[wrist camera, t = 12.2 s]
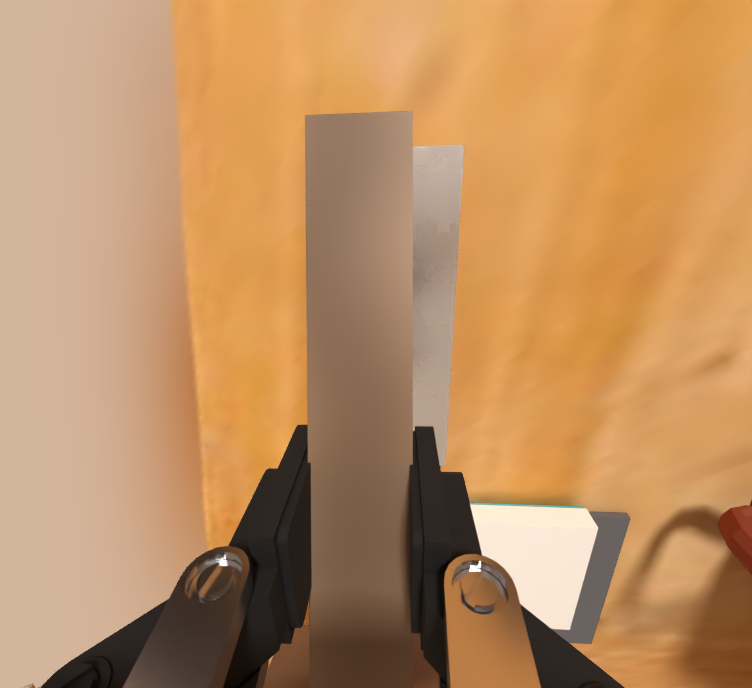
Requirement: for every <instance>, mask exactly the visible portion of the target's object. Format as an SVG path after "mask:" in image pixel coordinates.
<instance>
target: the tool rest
mask: <svg viewBox="0 0 752 688" xmlns="http://www.w3.org/2000/svg"><path fill="white" fill-rule="evenodd" d="M463 158H464V145H440V146H413V431H415V426H433V428H434V433H435V439H436V446H437V452H438V458H439V464H440V466H445V465H446V448H447V431H448V414H449V397H450V380H451V363H452V346H453V329H454V312H455V295H456V278H457V261H458V244H459V226H460V209H461V192H462V175H463Z"/></svg>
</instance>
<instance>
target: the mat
mask: <svg viewBox="0 0 752 688" xmlns="http://www.w3.org/2000/svg"><path fill="white" fill-rule="evenodd" d="M589 514H590V515H591V517H592V518H593V520H594V522H595V523H596V525H597V527H598V531H597V535H596V538H595V542H594V545H593V549H592V552H591V556H590V559H589V563H588V567H587V570H586V574H585V577H584V581H583V584H582V588H581V591H580V595H579V599H578V602H577V606H576V609H575V613H574V616H573V620H572V623H571V627H570V630H562V629H552V630H553V631H555V632H556V633H557V634H558V635H560V636H561V637H562V638H563V639H565V640H566V641H567V642H568V643H583V644H591V643H592V640H593V637H594V634H595V630H596V627H597V624H598V621H599V618H600V614H601V611H602V608H603V605H604V602H605V598H606V595H607V592H608V589H609V586H610V582H611V579H612V576H613V573H614V570H615V566H616V563H617V560H618V557H619V554H620V550H621V547H622V544H623V541H624V538H625V534H626V531H627V528H628V525H629V521H630V517H629V516H628V514H627V513H613V512H589Z"/></svg>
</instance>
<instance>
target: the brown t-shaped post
mask: <svg viewBox="0 0 752 688" xmlns="http://www.w3.org/2000/svg"><path fill="white" fill-rule="evenodd" d="M305 159H306V286H307V412H308V463H311V564H312V587H311V592H310V596H309V626H304V625H303V626H302V628H295V630H294V635H293V639H292V643H291V644H281V646H280V650H279V651H278V652H277V653H275V654H274V656H273V658H272V661H271V664H270V666H269V669H268V671H267V674H266V678H265V682H264V686H263V688H438V673H437V672H436V671H435V670H434V669H433V667H432V666H431V665H430V664H429V663H428V662H427V661H426V659H425V658H424V657H423V650H421V642H420V634H418V633H411V608H410V465H413V111H398V112H373V113H347V114H322V115H305Z"/></svg>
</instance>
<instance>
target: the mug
mask: <svg viewBox="0 0 752 688" xmlns="http://www.w3.org/2000/svg"><path fill="white" fill-rule="evenodd" d="M718 527H719V529H720V531H721V533H722V535H723V537H724V540H725V542H726V544H727V546H728V547H729V549H730V550H731V552H732V553H733V554H734V555H735V556H736V557H737V558H738V559H739V561H740V562H741V563H742V564H743V565H744V566H745V567H746V568H747V570H748V571H749V572H750V573H751V574H752V502H751V506H746V505H745V506H740V507H735V508H730V509H729V510H728V511H726V512H725V513H724V514H722V515H721V517H720V520H719V523H718Z"/></svg>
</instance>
